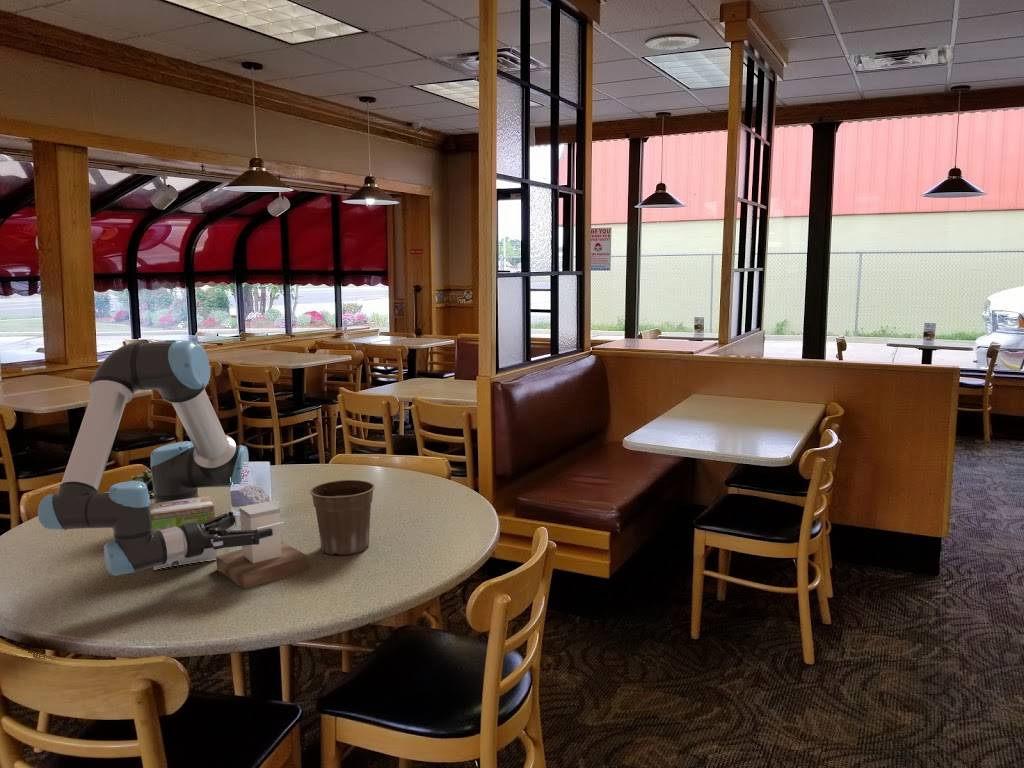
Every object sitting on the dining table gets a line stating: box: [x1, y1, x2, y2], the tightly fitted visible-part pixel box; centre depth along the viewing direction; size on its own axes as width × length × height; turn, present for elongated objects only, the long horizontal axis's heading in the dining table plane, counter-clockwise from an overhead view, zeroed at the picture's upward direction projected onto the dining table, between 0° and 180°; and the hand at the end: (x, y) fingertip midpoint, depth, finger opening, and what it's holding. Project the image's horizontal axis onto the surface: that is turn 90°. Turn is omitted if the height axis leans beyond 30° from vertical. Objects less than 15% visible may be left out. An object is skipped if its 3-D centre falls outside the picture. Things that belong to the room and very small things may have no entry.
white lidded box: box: [238, 501, 282, 563], centre depth 185 cm, size 7×7×12 cm
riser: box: [216, 540, 310, 589], centre depth 186 cm, size 16×16×4 cm
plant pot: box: [309, 479, 376, 556], centre depth 198 cm, size 16×16×16 cm
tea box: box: [150, 495, 219, 570], centre depth 193 cm, size 15×10×15 cm, turn 117°
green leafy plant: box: [130, 469, 154, 499], centre depth 246 cm, size 11×11×12 cm
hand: (272, 520), depth 186 cm, fingers open, 13 cm apart
